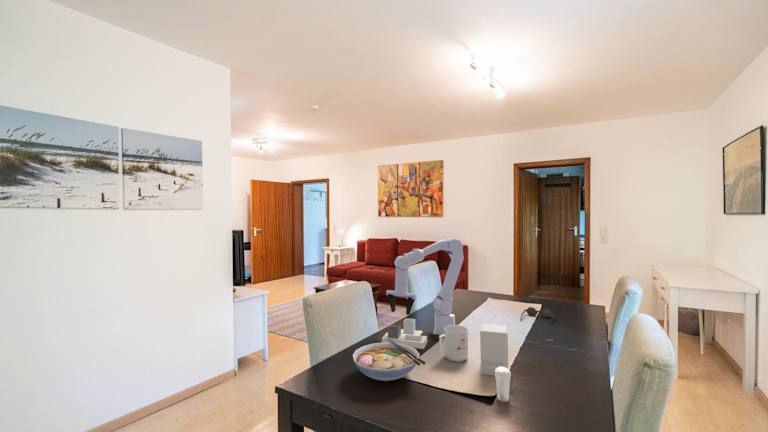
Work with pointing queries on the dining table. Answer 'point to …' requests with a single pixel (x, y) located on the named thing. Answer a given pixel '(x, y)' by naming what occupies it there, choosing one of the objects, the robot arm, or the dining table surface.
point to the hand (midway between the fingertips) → (400, 313)
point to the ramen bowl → (386, 360)
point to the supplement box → (493, 348)
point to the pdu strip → (404, 338)
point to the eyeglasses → (544, 313)
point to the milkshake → (502, 383)
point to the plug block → (409, 326)
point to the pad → (415, 332)
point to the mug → (455, 343)
